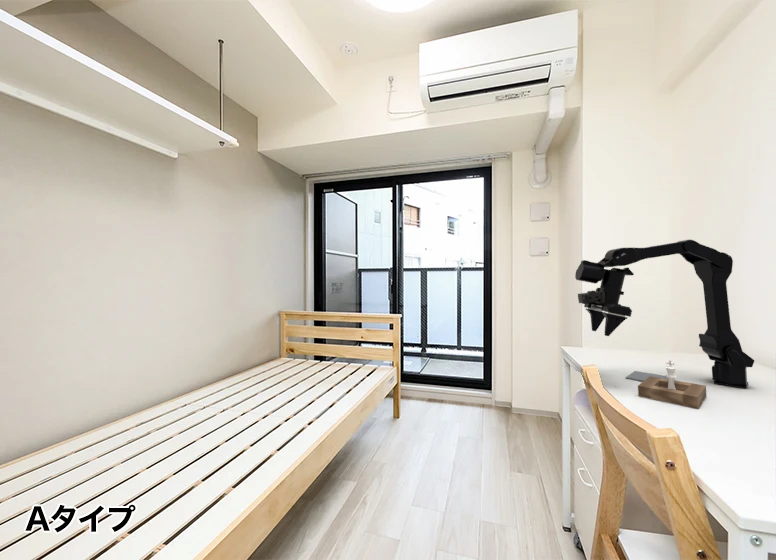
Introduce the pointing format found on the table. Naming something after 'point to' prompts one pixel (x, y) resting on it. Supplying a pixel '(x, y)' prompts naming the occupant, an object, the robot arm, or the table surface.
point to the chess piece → (670, 375)
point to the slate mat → (643, 376)
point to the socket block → (673, 392)
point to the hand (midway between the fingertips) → (599, 333)
